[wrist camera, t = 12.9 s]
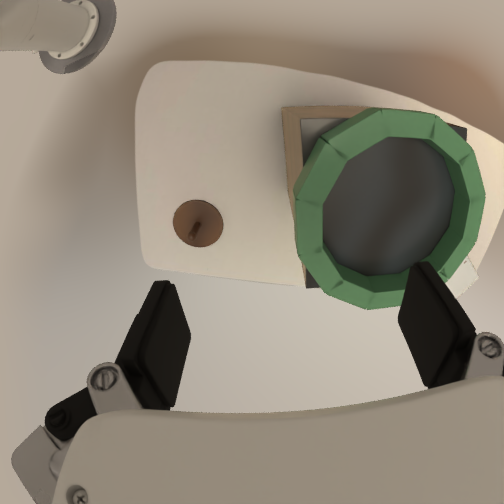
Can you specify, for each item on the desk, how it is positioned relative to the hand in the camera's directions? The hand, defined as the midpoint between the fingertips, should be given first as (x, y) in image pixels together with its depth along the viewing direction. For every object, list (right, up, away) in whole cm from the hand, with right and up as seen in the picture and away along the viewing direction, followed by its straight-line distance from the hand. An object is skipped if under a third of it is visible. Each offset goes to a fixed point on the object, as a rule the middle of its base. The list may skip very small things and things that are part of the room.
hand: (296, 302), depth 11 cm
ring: (+9, +5, +10) cm, 14 cm away
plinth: (+10, +18, +32) cm, 38 cm away
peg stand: (-11, +7, +40) cm, 42 cm away
